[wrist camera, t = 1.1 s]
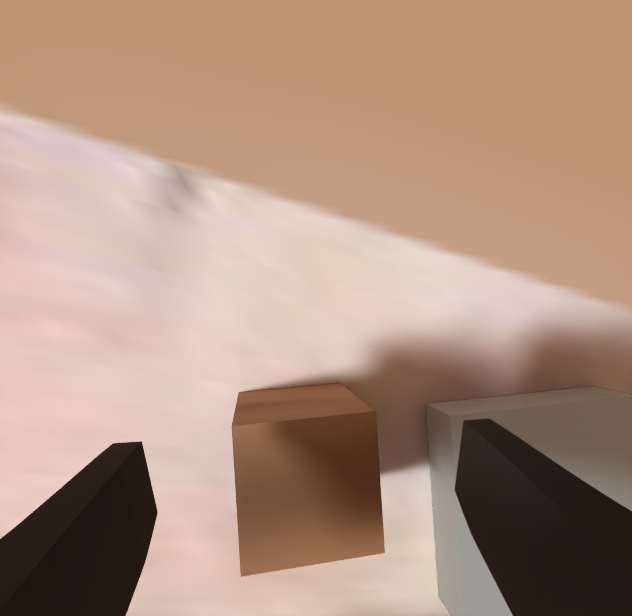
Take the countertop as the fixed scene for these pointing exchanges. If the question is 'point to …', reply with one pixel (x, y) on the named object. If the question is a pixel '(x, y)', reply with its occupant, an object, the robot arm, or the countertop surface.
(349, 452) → the walnut block
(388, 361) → the countertop surface
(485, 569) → the block
